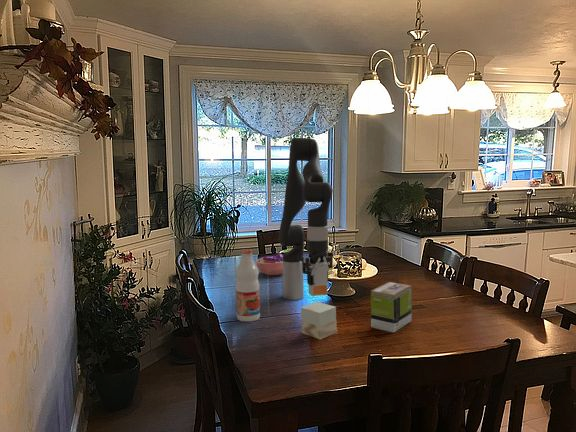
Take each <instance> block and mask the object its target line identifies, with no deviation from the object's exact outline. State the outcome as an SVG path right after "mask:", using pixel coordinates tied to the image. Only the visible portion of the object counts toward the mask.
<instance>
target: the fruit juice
mask: <svg viewBox="0 0 576 432" xmlns="http://www.w3.org/2000/svg"><path fill="white" fill-rule="evenodd" d="M253 254H254V250H253V249H251V248H242V249H240V256H241V257H240V261H239V264H238V265H237V267H236V268H235V269H236V270H235V275H236V281H235V296H236V297H235V300H236V303H235V304H236V305H235V306H236V318H237V320H238V321H241V322H246V323H247V322H249V323H250V322H255V321H258V320H260V318H261V305H260V304H261V302H260V301H261V300H260V298H261V297H260V296H261V295H260V281H259V273H260V272H259V271H260V270H259V269H258V267H257V265H256V262H255V261H254V257H253Z"/></svg>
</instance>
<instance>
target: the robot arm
mask: <svg viewBox="0 0 576 432" xmlns="http://www.w3.org/2000/svg"><path fill="white" fill-rule="evenodd" d="M290 141H291V142H290V146H289V157H288V158H289V159H288V172H287V179H286V180H287V181H286V185H285V193H284V202H283V209H282V210H283V211H282V218H281V222H280V227H279V230H278V231H279V232H278V241H279V242H278V243H279V244H280V245H281V246H282V247H292V248H291V250H288V251H287V252H285V253H283V254H282V255H283V273H282V275H281V297H283V299H286V300H291V301H292V300H293V301H297V300H301V299H303V298H304V275H306V283H307V285H308V286H309V285H311V286H312V285H314V275H313V273H314V271H315V270H316V268H317V266H318V263H321V262H326V263H328V273H327V282H328V280H329V271H330V269H332V268H333V265H334V263H333V262H334V258H333V257H334V253H333V252H331V251H329V229H328V228H329V227H328V211H329V207H330V203H331V200H332V197H333V187H332V185H331V184H330V183H329V182H325V181H324V176H323V172H322V169H321V165H320V164H321V163H320V153H319V145H318V142H317V140H316V139H314V138H308V137H306V138H305V137H294V138H292V139H291V140H290ZM298 161H299V162H307V163H305V165H303V169H302V175H301V173H300V170H299V167H298ZM306 202H307V203H320V205H319V206H318V207H314V208H312V209H309V210H308V211H307V230H306V236H307V237H306V240H307V242H306V243H307V245H306V247H307V251H308V255H307V257H305V256H304V255H305V253H304V251H305V247H304V246H305V230H304V227H303V226H302V225H300V224H293V225H292V222H293V221H294V219H295V218H296V216H298V215H299V213H300V212H301V210H303V208H304V207H305V205H306ZM310 263H312V264H314V266H310ZM311 269H312V270H311ZM310 270H311V272H310Z"/></svg>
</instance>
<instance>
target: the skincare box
mask: <svg viewBox="0 0 576 432" xmlns="http://www.w3.org/2000/svg"><path fill="white" fill-rule="evenodd" d="M310 266H314V264H312V263H310ZM311 270H312V269H311ZM311 270H310V272H311ZM327 273H328V274H329V271H328V263H326V262H321V263H318V266H317V268H316V270H315V271H314V273H313V275H314V285H312V286H311V285H308V294H309V295H310V296H311V297H320V296H328V281H327Z"/></svg>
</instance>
